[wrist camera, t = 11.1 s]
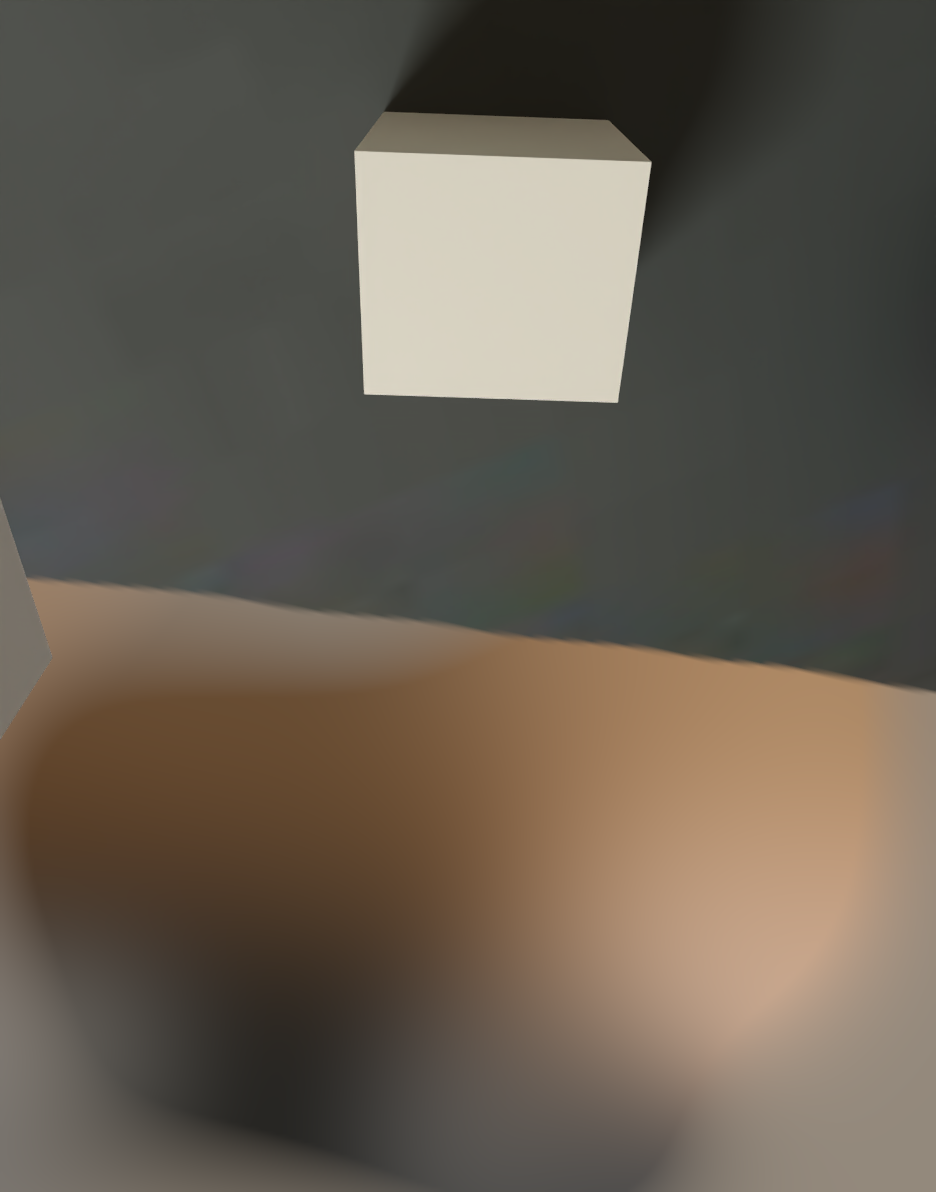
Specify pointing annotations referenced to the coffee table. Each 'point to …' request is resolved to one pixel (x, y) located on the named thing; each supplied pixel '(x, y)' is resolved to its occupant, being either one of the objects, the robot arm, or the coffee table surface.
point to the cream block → (497, 255)
